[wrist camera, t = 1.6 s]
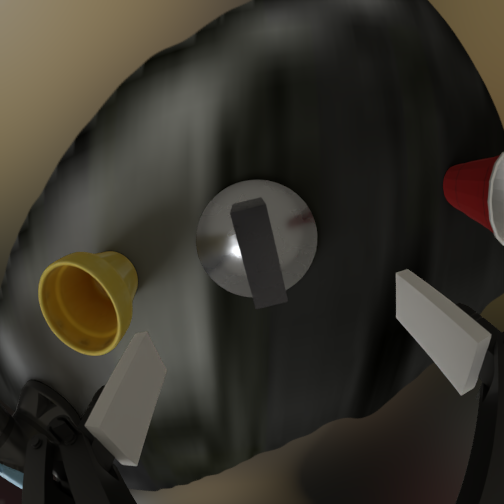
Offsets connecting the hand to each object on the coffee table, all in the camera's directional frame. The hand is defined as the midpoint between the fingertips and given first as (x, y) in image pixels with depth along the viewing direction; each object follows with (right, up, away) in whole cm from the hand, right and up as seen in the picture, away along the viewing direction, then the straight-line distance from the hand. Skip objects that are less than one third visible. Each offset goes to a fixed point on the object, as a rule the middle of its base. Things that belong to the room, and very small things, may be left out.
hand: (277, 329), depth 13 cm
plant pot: (-18, +1, +18) cm, 26 cm away
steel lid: (-1, +5, +17) cm, 18 cm away
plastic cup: (+26, +13, +16) cm, 33 cm away
